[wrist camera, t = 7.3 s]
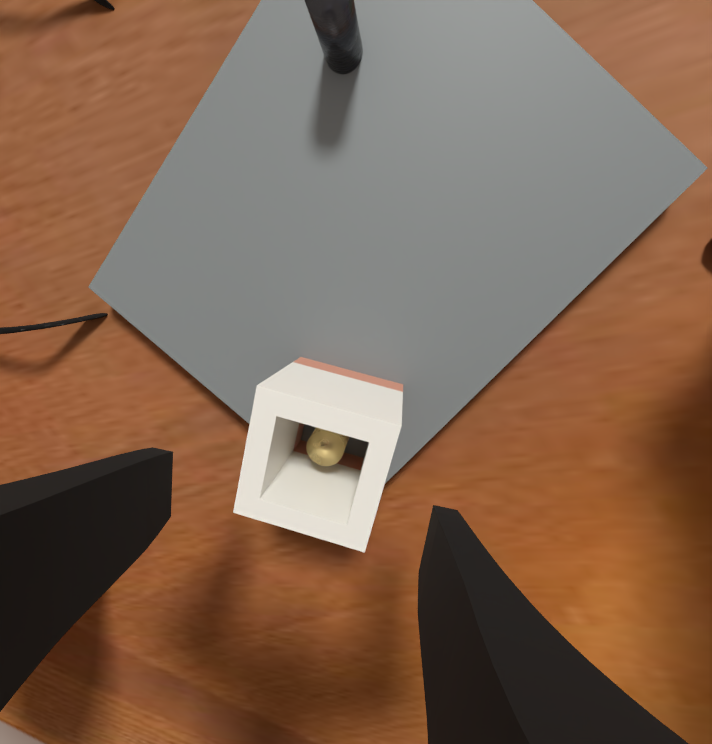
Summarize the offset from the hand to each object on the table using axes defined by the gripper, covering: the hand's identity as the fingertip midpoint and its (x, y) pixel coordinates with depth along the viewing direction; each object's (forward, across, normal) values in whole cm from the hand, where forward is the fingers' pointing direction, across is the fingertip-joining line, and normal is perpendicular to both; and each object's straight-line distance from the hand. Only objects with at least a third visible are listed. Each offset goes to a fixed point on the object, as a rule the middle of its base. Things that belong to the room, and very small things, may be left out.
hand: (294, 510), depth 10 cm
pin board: (+9, 0, -8) cm, 12 cm away
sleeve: (+7, 0, 0) cm, 7 cm away
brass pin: (+7, 0, 0) cm, 7 cm away
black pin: (+7, +2, -14) cm, 16 cm away
